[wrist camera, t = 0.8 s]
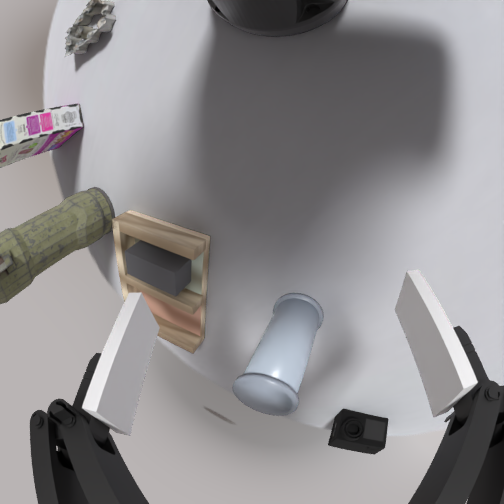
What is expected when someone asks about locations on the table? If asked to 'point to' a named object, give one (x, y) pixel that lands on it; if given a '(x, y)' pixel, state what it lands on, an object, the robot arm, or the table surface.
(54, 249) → the thermos
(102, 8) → the egg carton
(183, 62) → the table surface
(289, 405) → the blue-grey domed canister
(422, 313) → the robot arm
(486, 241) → the table surface
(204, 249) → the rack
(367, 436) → the digital camera
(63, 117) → the candy bar box
